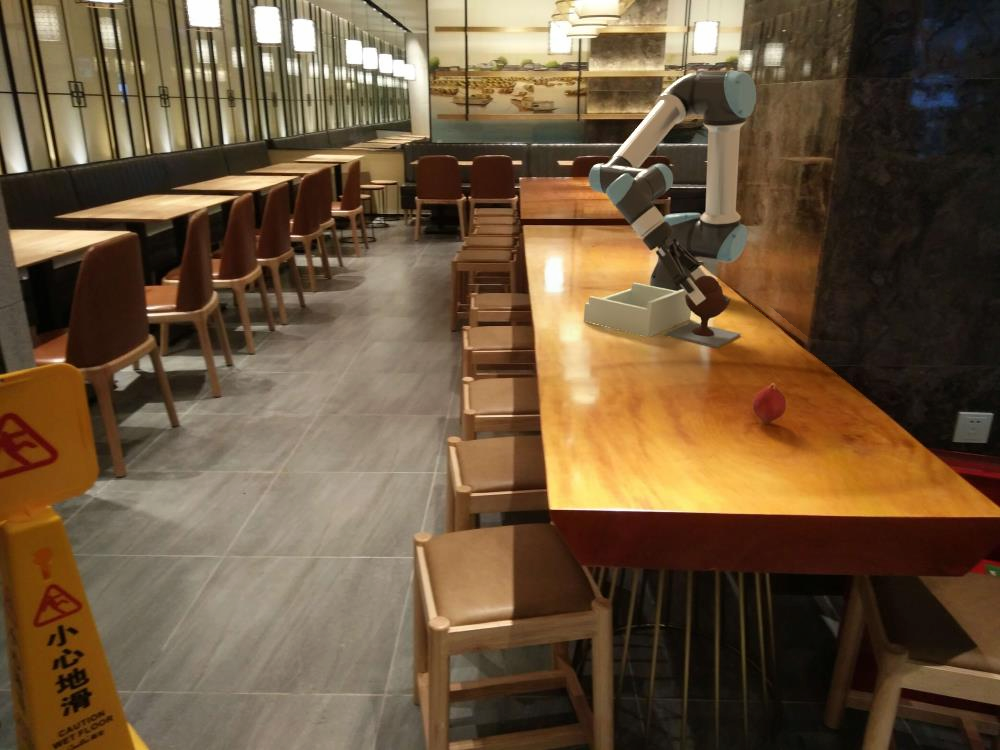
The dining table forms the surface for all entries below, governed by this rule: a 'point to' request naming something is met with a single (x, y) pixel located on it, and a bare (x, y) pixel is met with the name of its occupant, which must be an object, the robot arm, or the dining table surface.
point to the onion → (769, 404)
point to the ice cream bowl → (707, 303)
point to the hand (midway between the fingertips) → (706, 295)
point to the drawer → (639, 309)
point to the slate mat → (713, 341)
